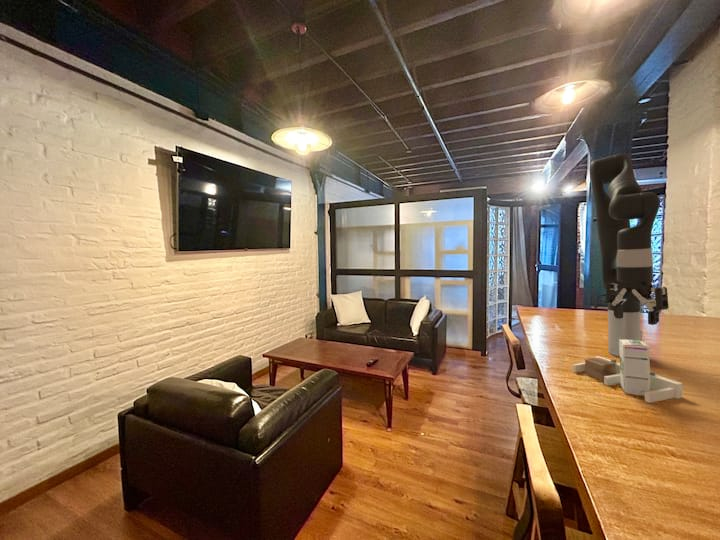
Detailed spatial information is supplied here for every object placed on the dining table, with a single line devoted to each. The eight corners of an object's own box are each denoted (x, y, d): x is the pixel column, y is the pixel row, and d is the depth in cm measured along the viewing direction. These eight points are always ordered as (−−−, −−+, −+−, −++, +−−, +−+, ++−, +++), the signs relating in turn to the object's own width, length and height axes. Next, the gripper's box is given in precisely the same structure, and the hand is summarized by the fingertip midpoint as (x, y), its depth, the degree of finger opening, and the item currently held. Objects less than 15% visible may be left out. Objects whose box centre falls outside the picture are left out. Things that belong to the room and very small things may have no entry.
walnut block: (598, 371, 100) (598, 357, 100) (615, 378, 94) (615, 363, 94) (585, 374, 99) (585, 359, 98) (601, 380, 93) (601, 365, 93)
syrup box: (651, 397, 82) (651, 346, 81) (623, 393, 85) (622, 343, 84) (645, 389, 87) (645, 340, 86) (619, 385, 90) (618, 338, 89)
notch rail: (598, 367, 103) (598, 353, 103) (682, 397, 81) (682, 380, 81) (572, 371, 101) (572, 357, 101) (651, 403, 79) (651, 386, 79)
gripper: (675, 264, 77) (676, 325, 78) (617, 263, 91) (618, 314, 92) (653, 266, 76) (654, 328, 77) (598, 265, 90) (599, 317, 91)
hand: (635, 321), depth 85 cm, fingers open, 8 cm apart
